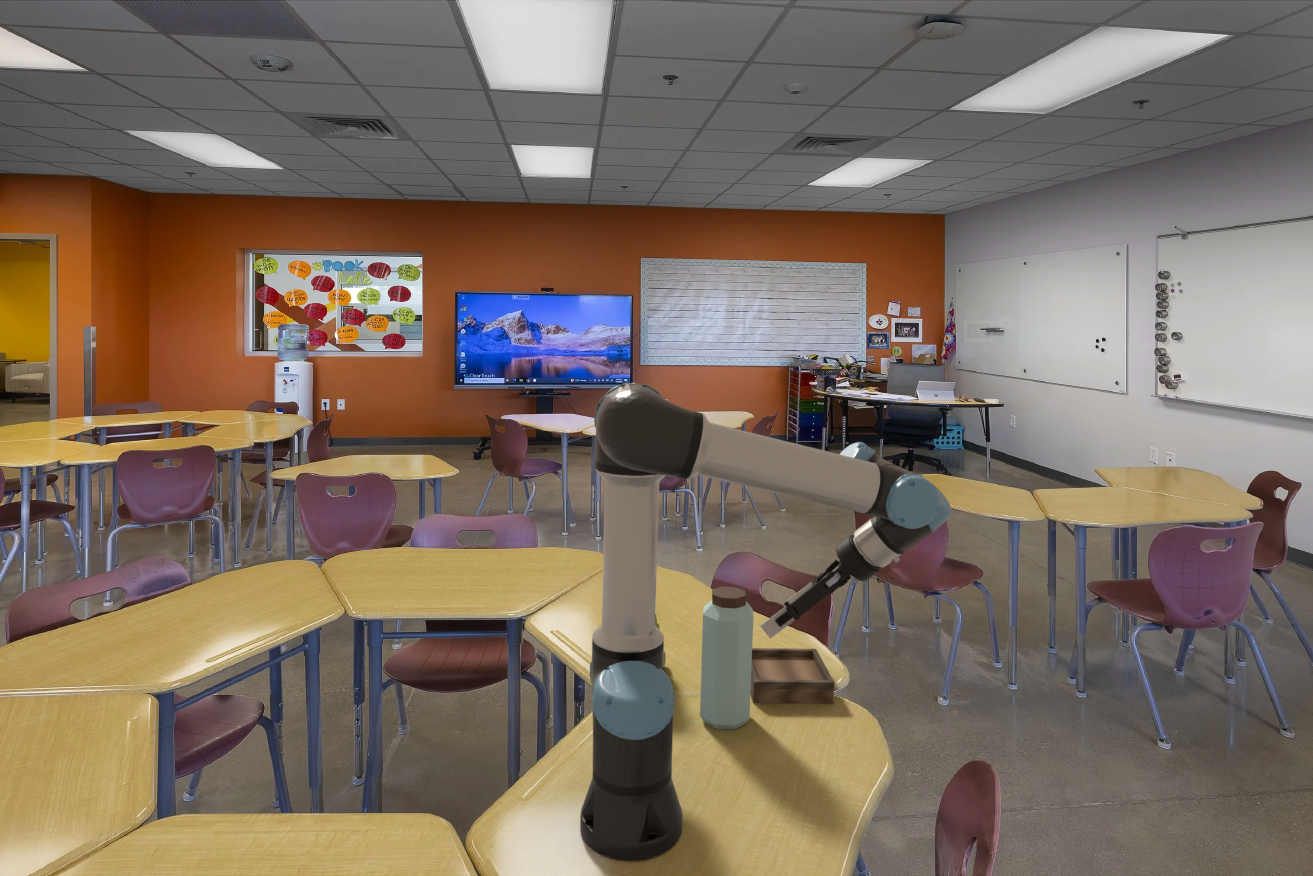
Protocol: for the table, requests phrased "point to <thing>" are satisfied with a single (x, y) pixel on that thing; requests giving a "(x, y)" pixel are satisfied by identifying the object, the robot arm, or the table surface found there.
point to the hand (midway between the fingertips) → (778, 619)
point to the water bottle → (726, 659)
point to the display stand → (790, 677)
